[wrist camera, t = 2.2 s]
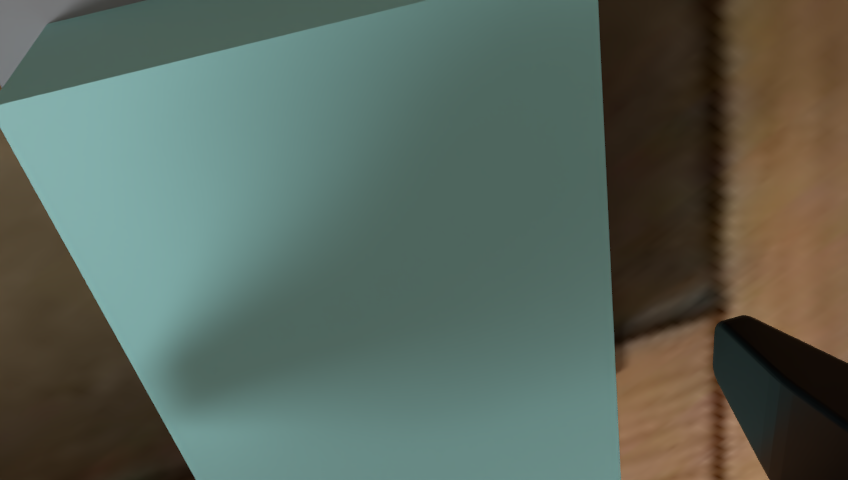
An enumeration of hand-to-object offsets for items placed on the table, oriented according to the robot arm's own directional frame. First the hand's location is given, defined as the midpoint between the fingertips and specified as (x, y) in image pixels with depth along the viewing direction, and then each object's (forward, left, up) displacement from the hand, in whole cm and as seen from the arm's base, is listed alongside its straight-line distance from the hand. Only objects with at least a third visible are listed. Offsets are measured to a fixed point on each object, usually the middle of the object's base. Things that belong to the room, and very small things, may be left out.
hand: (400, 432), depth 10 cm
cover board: (0, 0, -5) cm, 5 cm away
